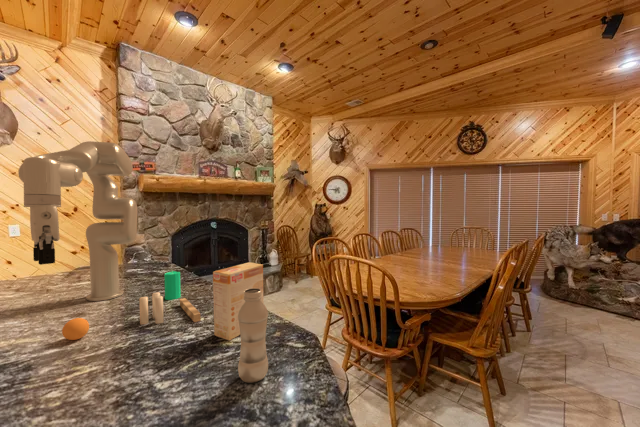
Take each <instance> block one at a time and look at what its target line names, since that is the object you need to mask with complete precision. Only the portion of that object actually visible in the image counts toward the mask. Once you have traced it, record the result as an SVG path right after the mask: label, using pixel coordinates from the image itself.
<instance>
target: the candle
mask: <svg viewBox="0 0 640 427" xmlns="http://www.w3.org/2000/svg"><path fill="white" fill-rule="evenodd" d="M163 279H164V281H163V282H164V300H167V301H172V300H177V299H181V297H182V294H181V293H182V291H181V290H182V289H181V271H174V270H171V271H168V272H165V273H164V278H163Z"/></svg>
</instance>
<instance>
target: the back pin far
mask: <svg viewBox="0 0 640 427" xmlns="http://www.w3.org/2000/svg"><path fill="white" fill-rule="evenodd" d="M157 296H161V292H159V291H158V292H153V293H151V297H152V298H151V301H152V302H151V304H152V305H151V306H152V320H155V297H157Z"/></svg>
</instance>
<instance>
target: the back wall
mask: <svg viewBox="0 0 640 427" xmlns="http://www.w3.org/2000/svg"><path fill="white" fill-rule="evenodd" d="M179 306H180V307H181V309H182V310H183V311H184V313H186V315H187V316H188V317H189V318H190V319H191V321H193V323H197V322H201V313H200V311H199V310H198V309H197V308H196V307H195V306H194V305H193V304H192V303H191V302H190V301H189V300H188V299H187V298H185V297H183V298H179Z"/></svg>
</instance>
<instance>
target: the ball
mask: <svg viewBox="0 0 640 427" xmlns="http://www.w3.org/2000/svg"><path fill="white" fill-rule="evenodd" d="M89 329H90V323H89V322H88V320H87V319H86V318H82V317H75V318H71V319H69V321H67V322H66V323H65V324H64V325H63V326H62V330H61V334H62V336H63V338H64V339H66V340H69V341H77V340H80V339H81V338H84V337H85V335H87V333H88V332H89Z"/></svg>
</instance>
